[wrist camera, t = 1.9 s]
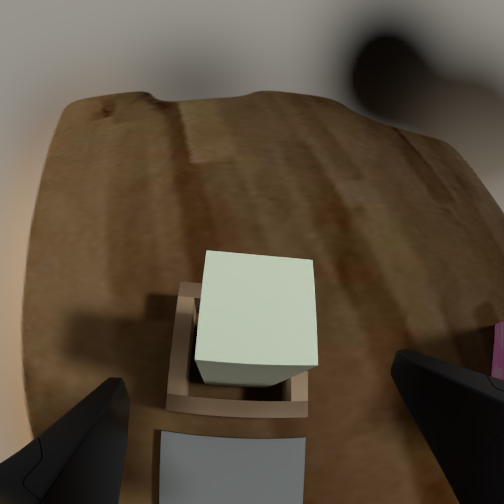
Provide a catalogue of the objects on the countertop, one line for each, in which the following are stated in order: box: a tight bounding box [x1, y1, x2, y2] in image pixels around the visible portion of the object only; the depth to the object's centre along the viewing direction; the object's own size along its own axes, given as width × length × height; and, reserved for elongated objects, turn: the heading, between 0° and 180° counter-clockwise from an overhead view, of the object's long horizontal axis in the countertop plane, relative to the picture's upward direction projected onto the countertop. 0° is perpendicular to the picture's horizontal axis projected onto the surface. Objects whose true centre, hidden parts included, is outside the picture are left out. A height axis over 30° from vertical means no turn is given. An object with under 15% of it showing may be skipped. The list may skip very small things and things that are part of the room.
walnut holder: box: [166, 281, 308, 418], centre depth 17 cm, size 8×8×2 cm
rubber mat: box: [159, 430, 305, 504], centre depth 13 cm, size 9×9×1 cm
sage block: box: [195, 250, 318, 388], centre depth 14 cm, size 4×4×10 cm
